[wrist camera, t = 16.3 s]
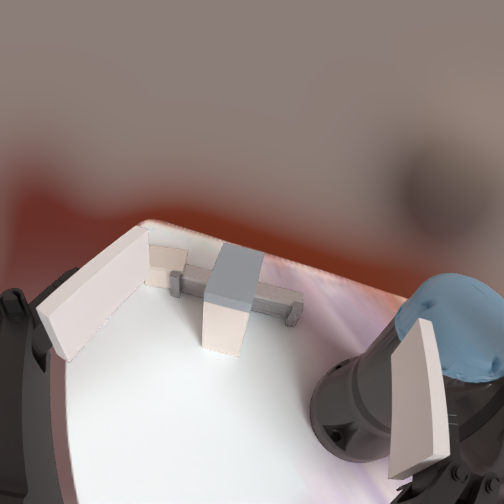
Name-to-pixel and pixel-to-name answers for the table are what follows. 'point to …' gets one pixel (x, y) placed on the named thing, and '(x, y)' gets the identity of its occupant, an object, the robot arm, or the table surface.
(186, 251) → the box
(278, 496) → the table surface
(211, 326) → the block
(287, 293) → the rail bracket
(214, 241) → the table surface
